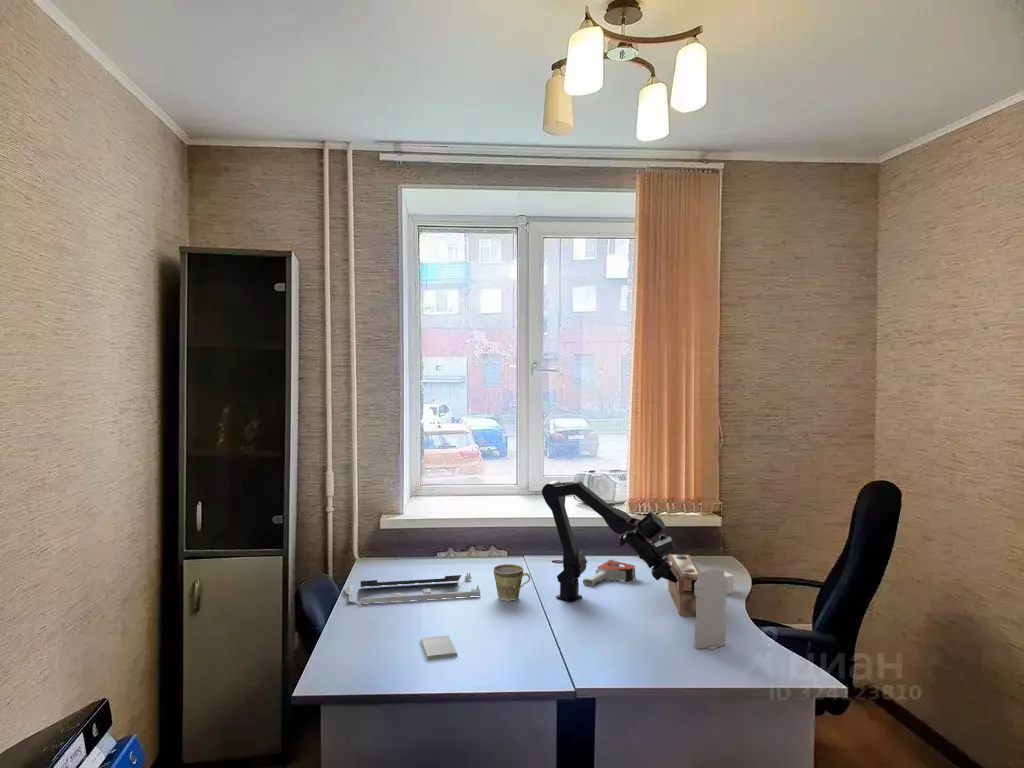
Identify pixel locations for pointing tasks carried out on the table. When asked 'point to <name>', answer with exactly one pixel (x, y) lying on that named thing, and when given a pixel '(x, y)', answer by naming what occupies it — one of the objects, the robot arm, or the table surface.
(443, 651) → the hard drive
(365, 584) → the paper cutter
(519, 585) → the ceramic cup
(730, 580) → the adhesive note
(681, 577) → the wooden stand
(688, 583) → the salmon pink cube
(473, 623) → the table surface
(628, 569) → the tape dispenser
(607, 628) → the table surface
